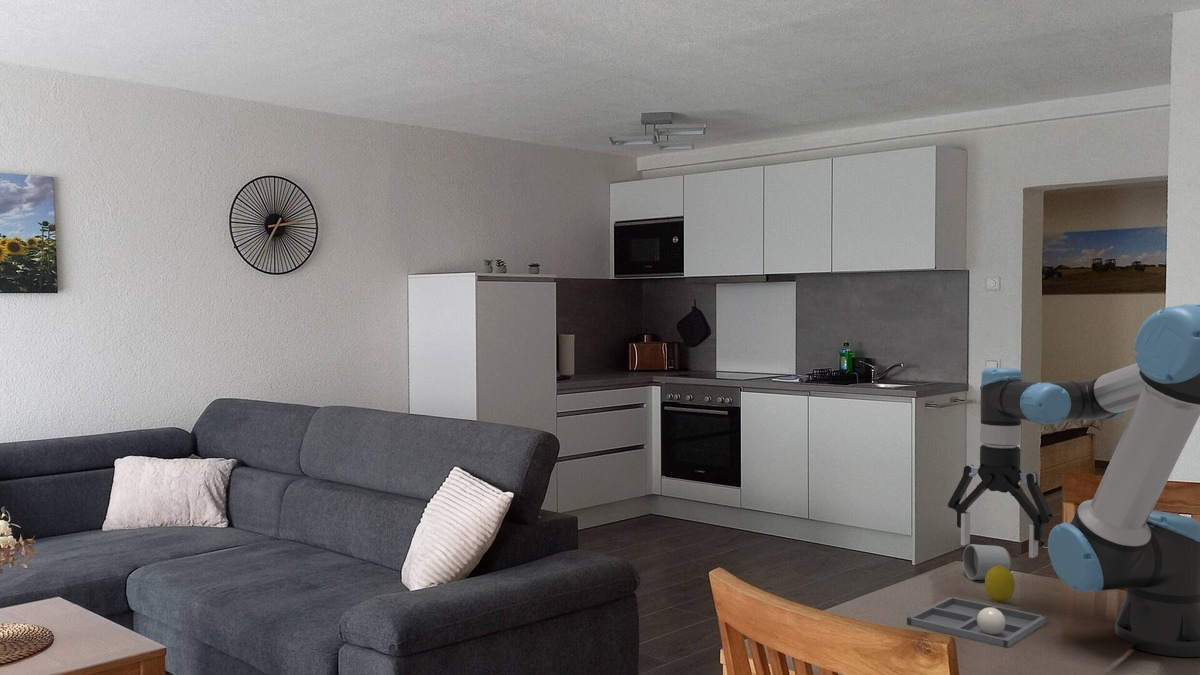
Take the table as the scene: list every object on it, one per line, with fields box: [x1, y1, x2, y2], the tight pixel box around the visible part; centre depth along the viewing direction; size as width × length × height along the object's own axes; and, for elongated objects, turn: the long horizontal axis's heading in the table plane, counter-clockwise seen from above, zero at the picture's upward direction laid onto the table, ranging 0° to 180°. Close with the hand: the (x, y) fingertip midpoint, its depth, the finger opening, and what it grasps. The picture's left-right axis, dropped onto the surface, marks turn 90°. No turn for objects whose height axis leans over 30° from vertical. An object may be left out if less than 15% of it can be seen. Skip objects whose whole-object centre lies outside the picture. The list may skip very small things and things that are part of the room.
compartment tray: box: [906, 596, 1048, 649], centre depth 178 cm, size 18×18×2 cm
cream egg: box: [977, 607, 1006, 635], centre depth 172 cm, size 5×5×5 cm
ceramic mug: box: [962, 543, 1012, 581], centre depth 214 cm, size 11×8×8 cm
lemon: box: [984, 565, 1016, 605], centre depth 193 cm, size 6×6×8 cm
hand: (998, 550), depth 194 cm, fingers open, 13 cm apart
